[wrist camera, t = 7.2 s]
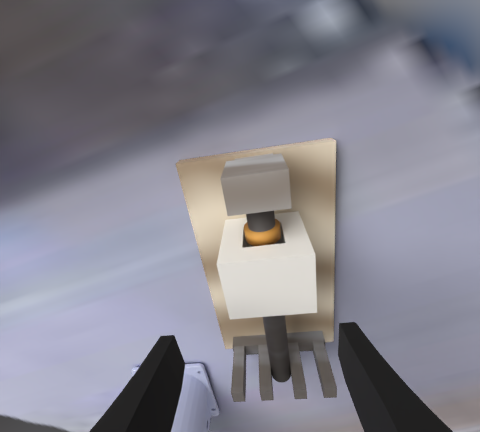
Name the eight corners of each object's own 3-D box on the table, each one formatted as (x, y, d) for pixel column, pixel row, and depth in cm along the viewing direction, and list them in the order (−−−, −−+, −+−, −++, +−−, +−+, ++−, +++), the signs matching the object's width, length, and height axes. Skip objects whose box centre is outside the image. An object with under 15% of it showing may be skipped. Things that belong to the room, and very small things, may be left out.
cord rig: (330, 332, 24) (352, 399, 19) (226, 339, 25) (220, 405, 20) (331, 137, 16) (370, 160, 11) (179, 160, 17) (148, 190, 12)
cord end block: (301, 259, 19) (316, 312, 14) (234, 266, 19) (229, 319, 15) (298, 211, 17) (315, 254, 12) (225, 219, 17) (216, 264, 13)
